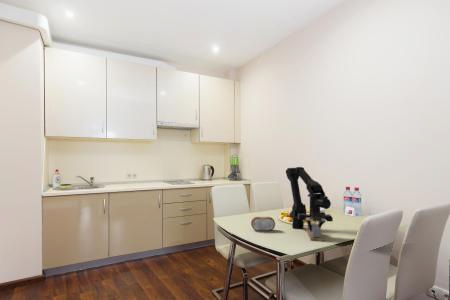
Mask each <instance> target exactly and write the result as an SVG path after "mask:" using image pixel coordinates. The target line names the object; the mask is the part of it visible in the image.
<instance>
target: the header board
mask: <svg viewBox="0 0 450 300" xmlns="http://www.w3.org/2000/svg"><path fill="white" fill-rule="evenodd" d="M310 221H311V222H316V223H317V221H313V220H310ZM305 232H306V233H307V236H308V237H309V240H310V241H312V242H313V241H314V242H324V241H325V240H324V237H323V236H322V233H320V237H313V236H312V234H311V232H310V230H309V226H308V225H307V227H305Z"/></svg>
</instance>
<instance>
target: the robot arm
mask: <svg viewBox="0 0 450 300" xmlns="http://www.w3.org/2000/svg"><path fill="white" fill-rule="evenodd" d="M285 174H286V178H287V179H288V181H290V182H289V183H290V188H291V193H292V200H293V204H292V207H291V211H290V213H289V218H290V219H292V222H291V223H292V224H291V227H292V229H299V230H303V229H304V221H305V222H306V223H307V227H308V226H309V229H310V232H311V221H313V222H314V221H316V222H318V223H317V224H318V226H319V227H320V230H321V228H322V226H323V225H324V224H325V223H326V222H334V221H333V216H332V215H331V214H327V213H325V212H322V211H321V208H322V209H325V210H328V209H329V208H330V207H331V204H332V203H331V200H330V199H329V198H328V197H329V196H326V192H325V190H324V189H323V185H321V183H319V182H318V181H316V180H314V179H312V176H310V174H308V172H307V171H306V170H305V167H303V166H297V167H288V168H287V169H286V170H285ZM299 178H300V179H301V180H302V181H303V183H304V184H305V185H306V190H307V191H308V194H307V197H309V214H307V208H306V207H307V206H306V204H304V203H303V202H302V196H301V192H300V185H299ZM311 219H312V220H311Z"/></svg>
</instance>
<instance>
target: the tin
mask: <svg viewBox="0 0 450 300" xmlns="http://www.w3.org/2000/svg"><path fill="white" fill-rule="evenodd" d="M250 225H251V227H252V229H253V230H254V231H257V232H258V231H259V232H262V231H263V232H264V231H265V232H269V231H272V230H274V229H275V227H276V222H275V220H274V218H273V217H271V216H255V217H253V218H252V219H251V222H250Z"/></svg>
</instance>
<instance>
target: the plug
mask: <svg viewBox="0 0 450 300" xmlns="http://www.w3.org/2000/svg"><path fill="white" fill-rule="evenodd" d="M309 230H310V229H309ZM311 234H312V236H313V237H320V234H321V229H320V227H319V226H318V223H317V221H316V222H314V221H313V222H311Z"/></svg>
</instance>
